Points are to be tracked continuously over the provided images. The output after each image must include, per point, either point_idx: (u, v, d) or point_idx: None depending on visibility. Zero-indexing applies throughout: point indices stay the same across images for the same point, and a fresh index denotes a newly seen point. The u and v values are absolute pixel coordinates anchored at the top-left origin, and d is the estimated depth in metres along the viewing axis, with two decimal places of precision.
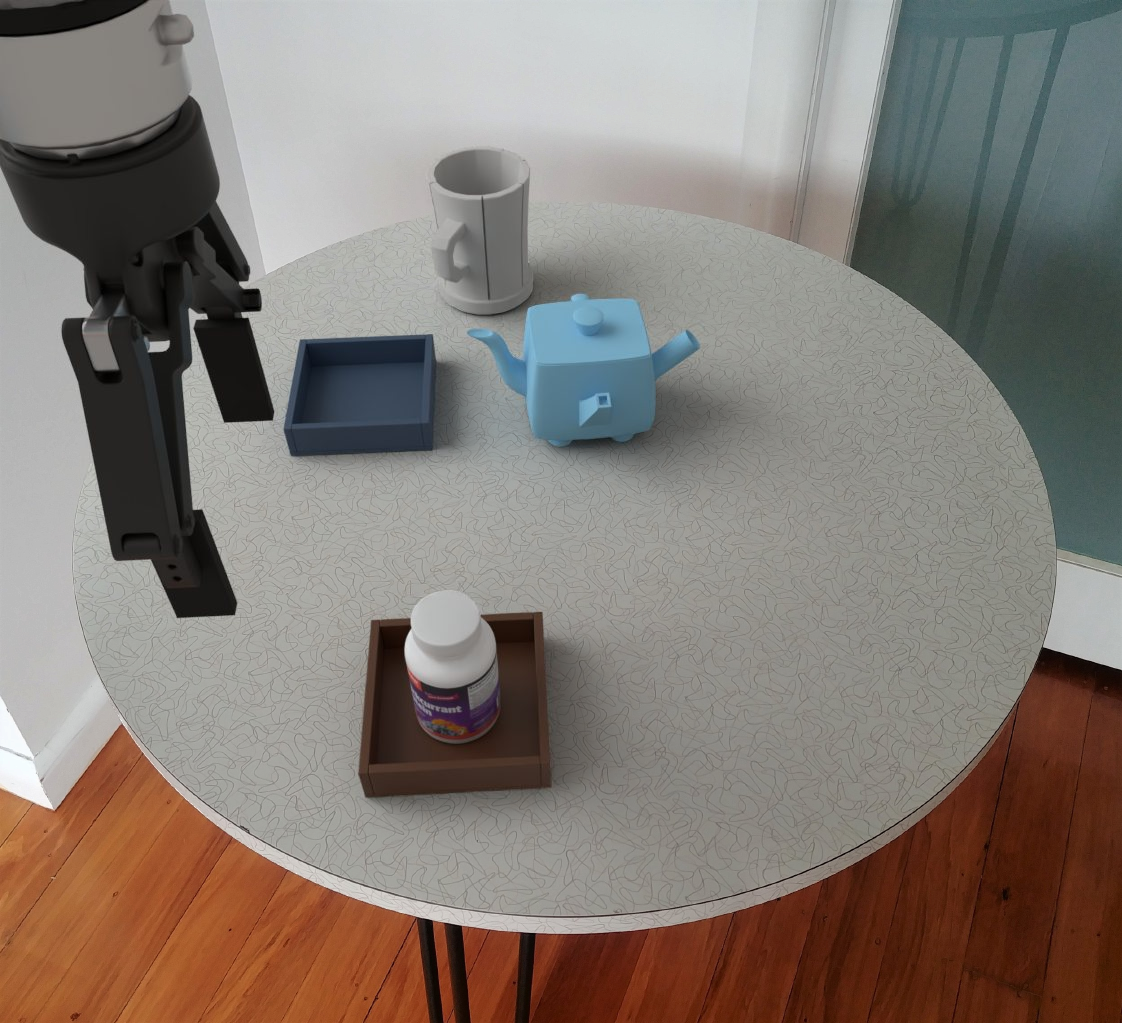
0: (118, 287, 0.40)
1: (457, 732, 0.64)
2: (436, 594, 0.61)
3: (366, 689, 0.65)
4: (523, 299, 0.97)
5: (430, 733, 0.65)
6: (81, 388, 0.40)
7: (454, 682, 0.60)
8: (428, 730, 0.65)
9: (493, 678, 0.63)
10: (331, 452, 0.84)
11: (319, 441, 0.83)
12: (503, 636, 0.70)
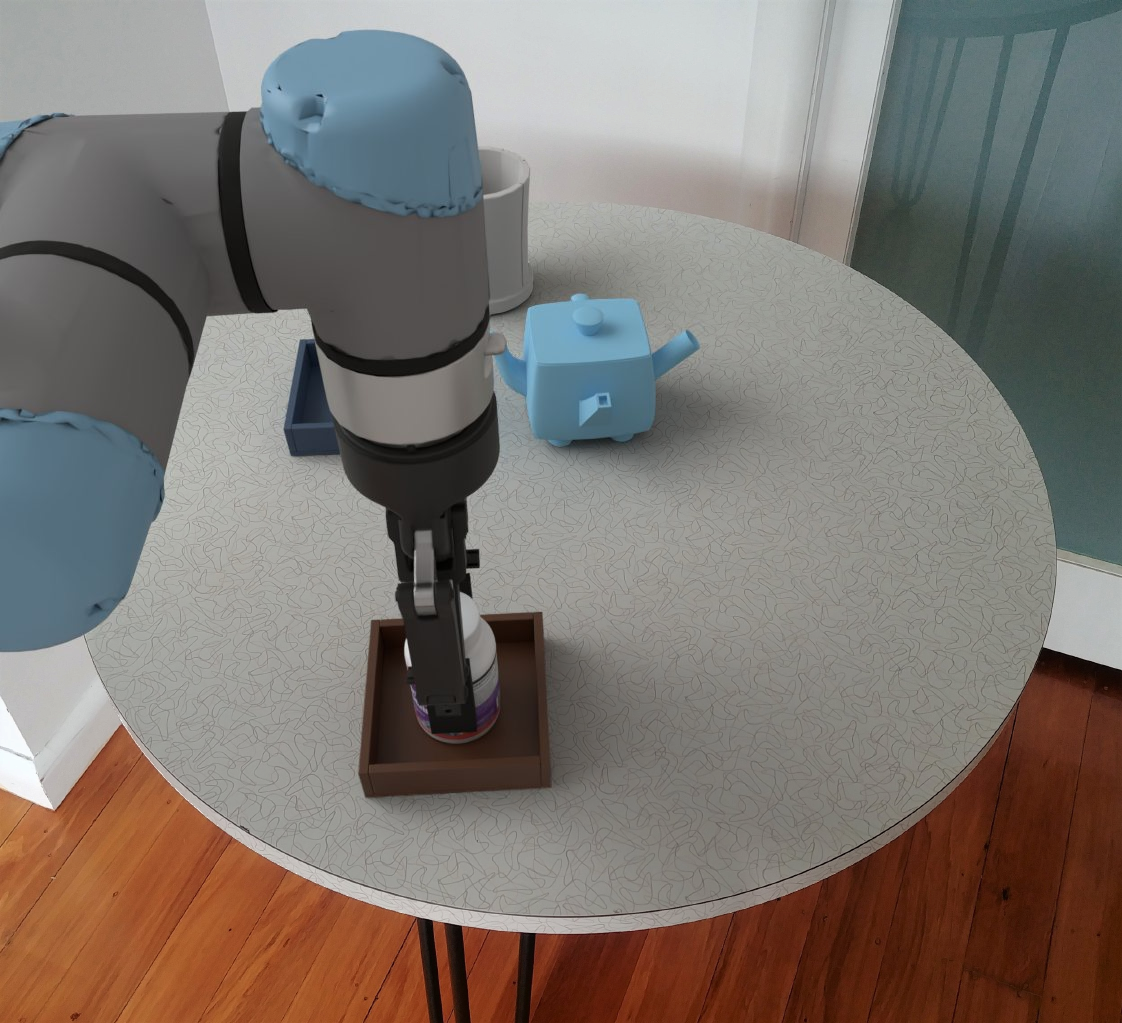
0: (424, 533, 0.50)
1: None
2: None
3: (366, 689, 0.65)
4: (523, 299, 0.97)
5: (430, 733, 0.65)
6: (405, 623, 0.50)
7: None
8: (428, 730, 0.65)
9: (493, 678, 0.63)
10: (331, 452, 0.84)
11: (319, 441, 0.83)
12: (503, 636, 0.70)
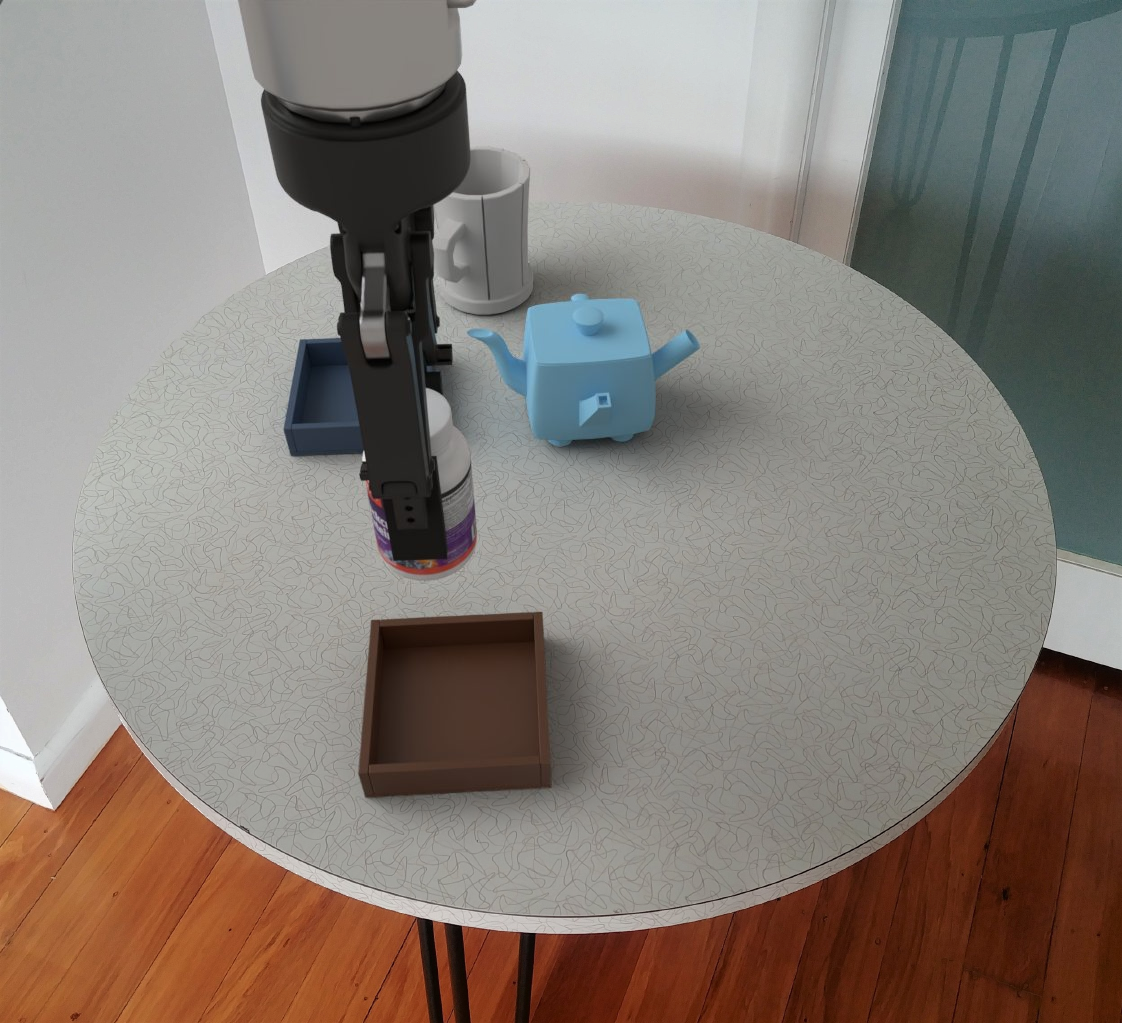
0: (375, 255, 0.40)
1: (425, 565, 0.55)
2: None
3: (366, 689, 0.65)
4: (523, 299, 0.97)
5: (393, 568, 0.56)
6: (351, 372, 0.41)
7: None
8: (392, 564, 0.56)
9: (467, 497, 0.53)
10: (331, 452, 0.84)
11: (319, 441, 0.83)
12: (503, 636, 0.70)
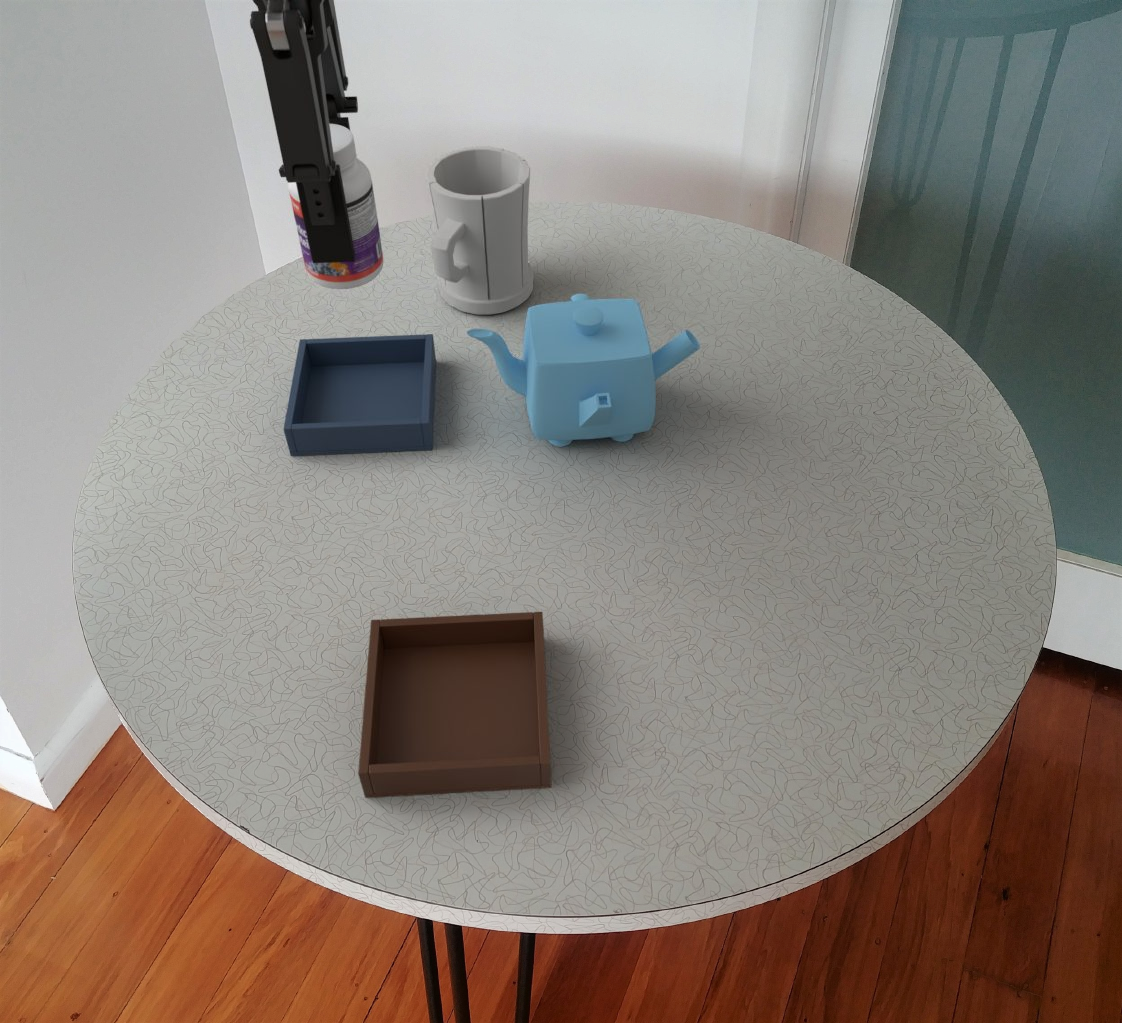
0: None
1: (339, 272, 0.71)
2: None
3: (366, 689, 0.65)
4: (523, 299, 0.97)
5: (316, 279, 0.72)
6: (263, 63, 0.57)
7: None
8: (315, 275, 0.72)
9: (369, 214, 0.69)
10: (331, 452, 0.84)
11: (319, 441, 0.83)
12: (503, 636, 0.70)
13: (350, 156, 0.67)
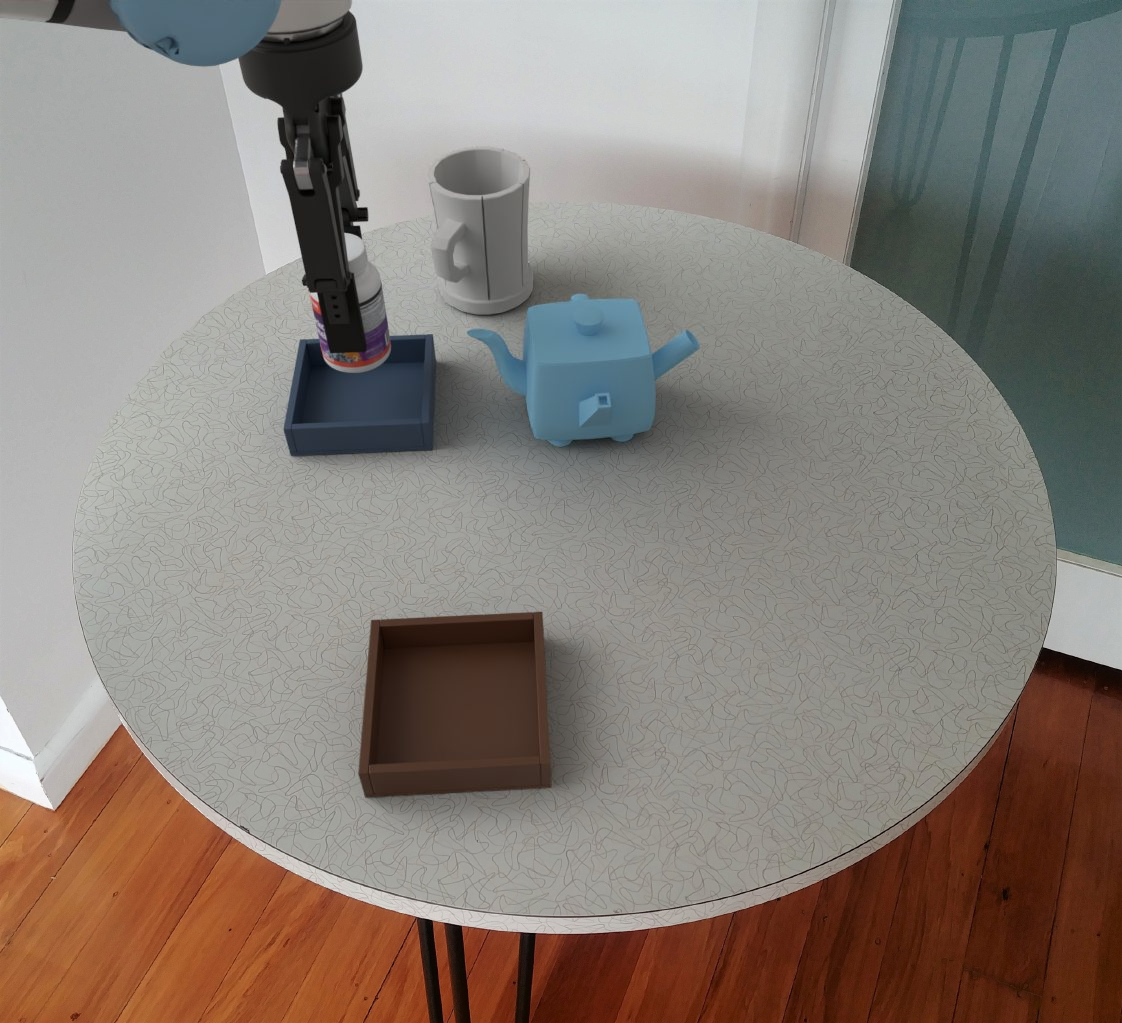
0: (303, 126, 0.66)
1: (353, 359, 0.81)
2: None
3: (366, 689, 0.65)
4: (523, 299, 0.97)
5: (332, 364, 0.82)
6: (290, 199, 0.67)
7: None
8: (331, 361, 0.82)
9: (379, 309, 0.79)
10: (331, 452, 0.84)
11: (319, 441, 0.83)
12: (503, 636, 0.70)
13: (362, 263, 0.77)
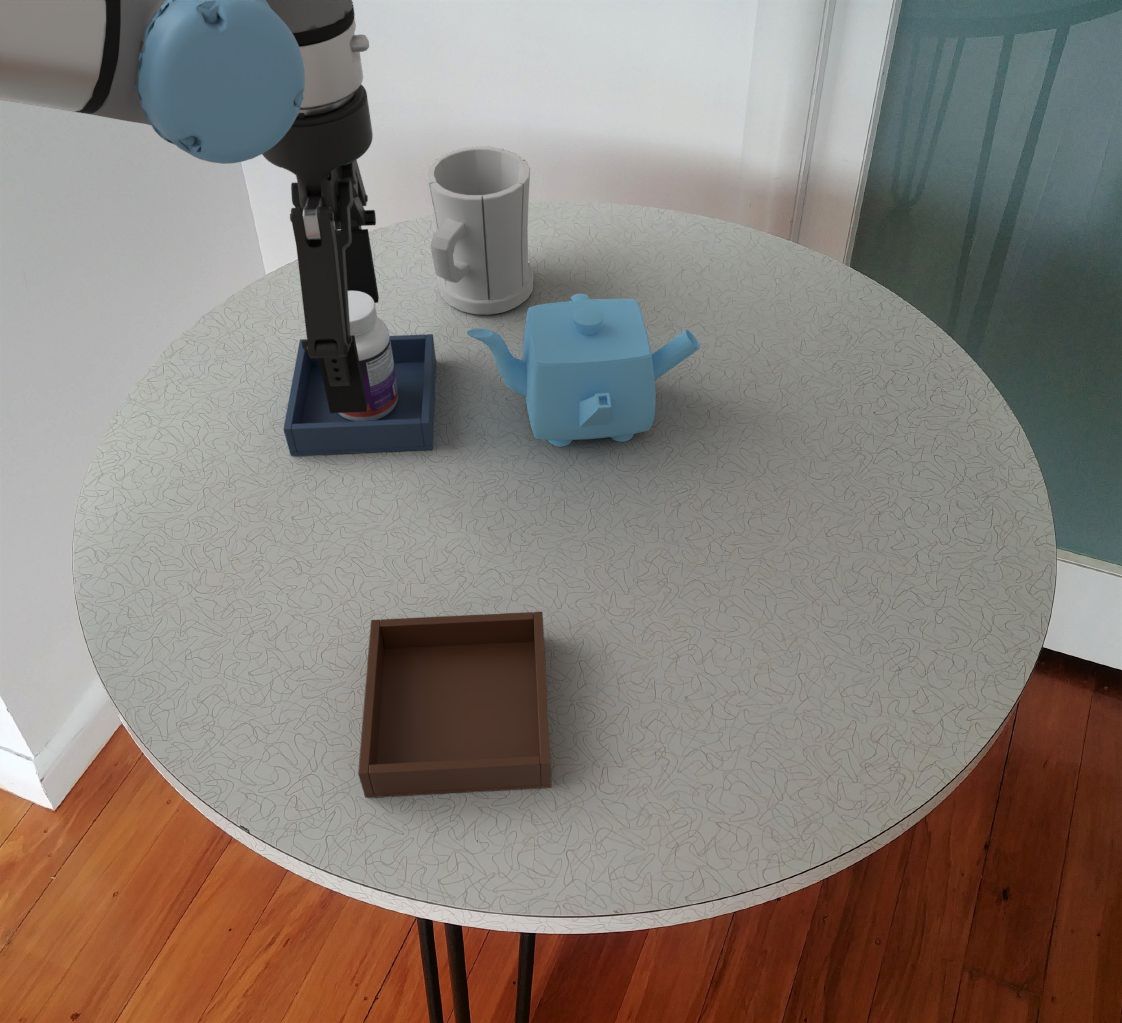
0: (316, 193, 0.69)
1: None
2: None
3: (366, 689, 0.65)
4: (523, 299, 0.97)
5: (342, 413, 0.85)
6: (297, 250, 0.68)
7: None
8: None
9: (387, 363, 0.83)
10: (331, 452, 0.84)
11: (319, 441, 0.83)
12: (503, 636, 0.70)
13: (372, 320, 0.80)
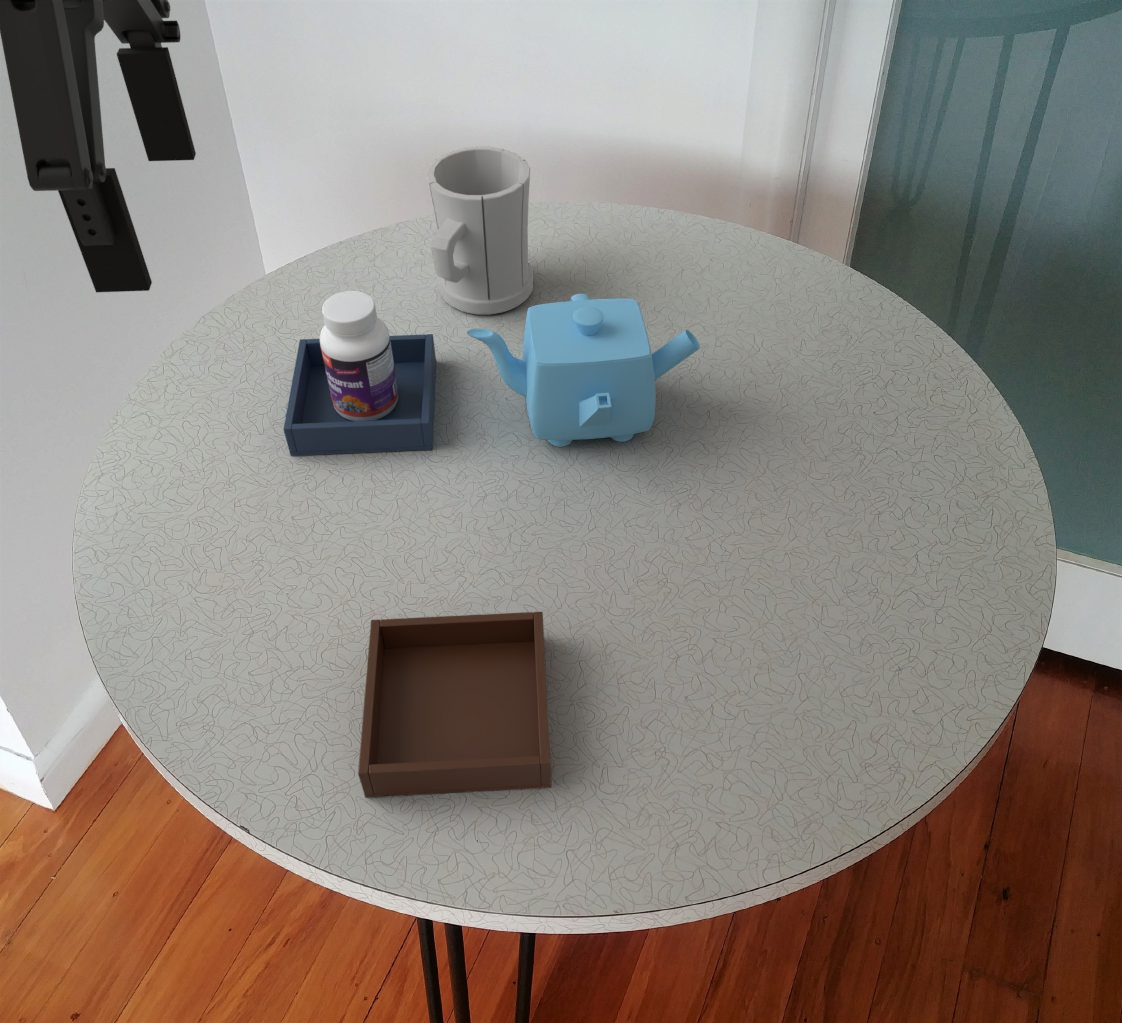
0: None
1: (362, 409, 0.84)
2: (342, 293, 0.81)
3: (366, 689, 0.65)
4: (523, 299, 0.97)
5: (342, 413, 0.85)
6: None
7: (355, 355, 0.81)
8: (341, 411, 0.85)
9: (387, 363, 0.83)
10: (331, 452, 0.84)
11: (319, 441, 0.83)
12: (503, 636, 0.70)
13: (372, 320, 0.80)
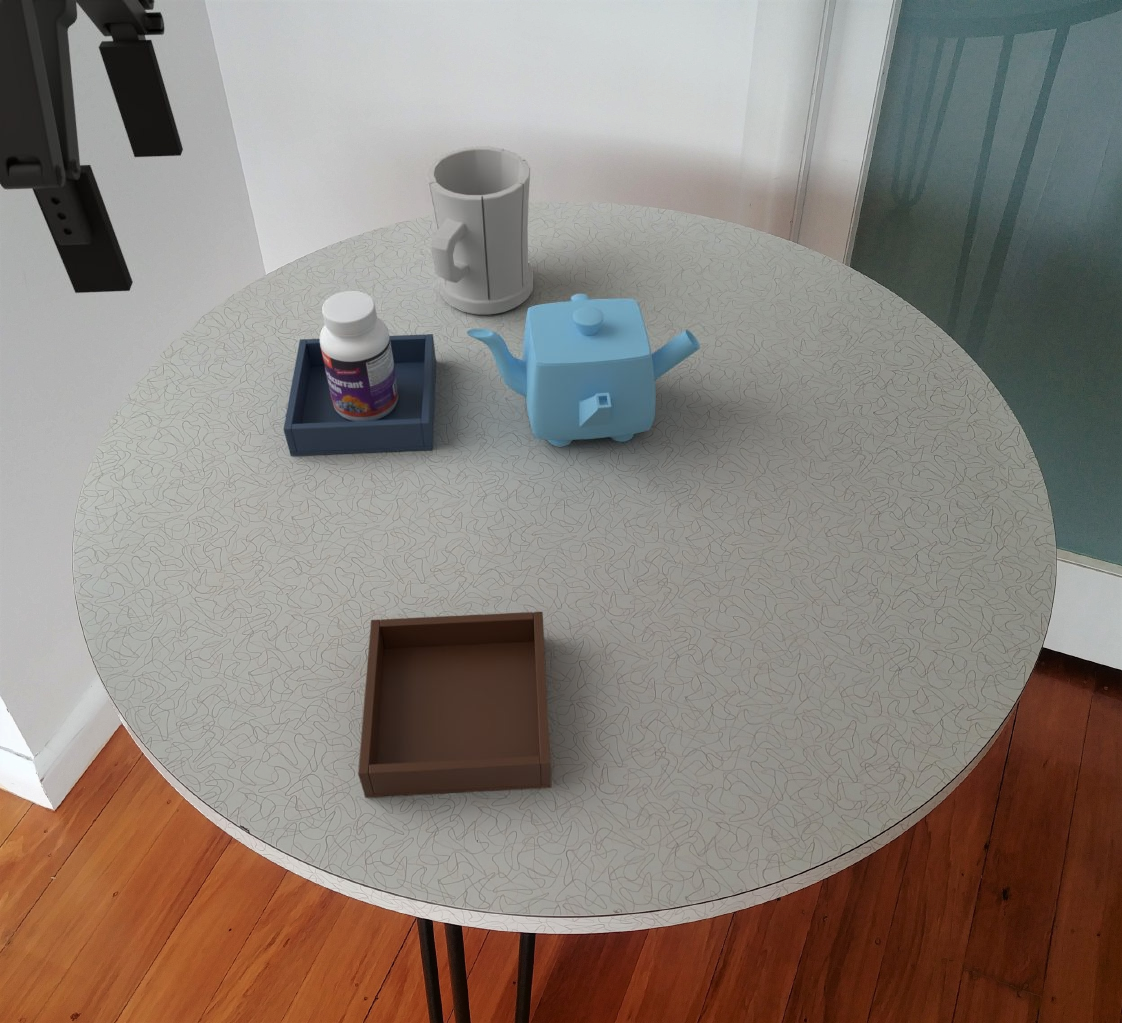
0: None
1: (362, 409, 0.84)
2: (342, 293, 0.81)
3: (366, 689, 0.65)
4: (523, 299, 0.97)
5: (342, 413, 0.85)
6: None
7: (355, 355, 0.81)
8: (341, 411, 0.85)
9: (387, 363, 0.83)
10: (331, 452, 0.84)
11: (319, 441, 0.83)
12: (503, 636, 0.70)
13: (372, 320, 0.80)
